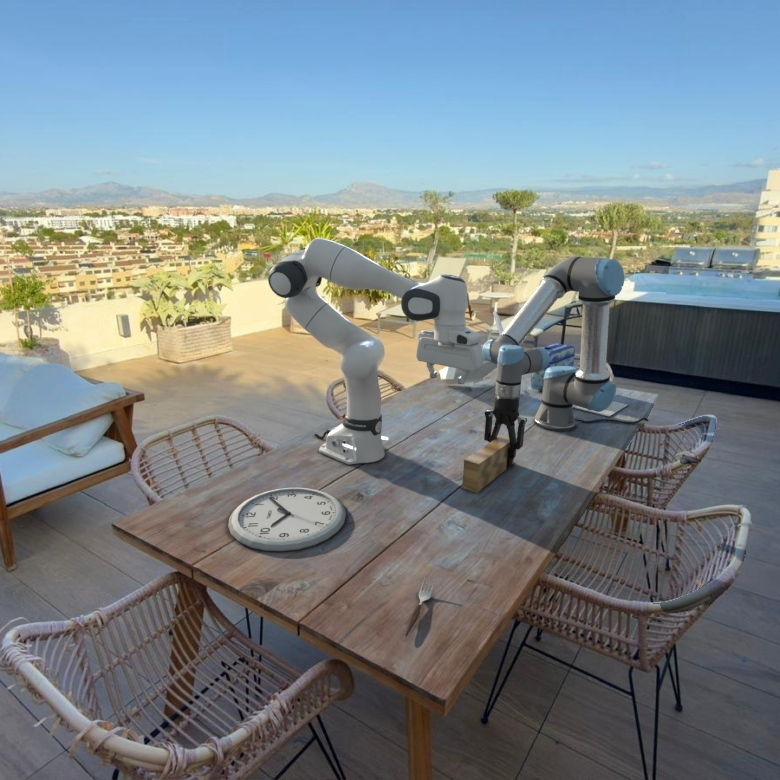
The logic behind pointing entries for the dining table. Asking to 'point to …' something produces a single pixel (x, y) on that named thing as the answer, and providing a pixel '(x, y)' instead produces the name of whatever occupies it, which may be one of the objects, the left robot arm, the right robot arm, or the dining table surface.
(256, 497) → the wall clock
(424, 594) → the fork
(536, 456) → the dining table surface
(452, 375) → the white plastic object
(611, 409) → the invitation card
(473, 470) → the bar
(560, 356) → the lunch box
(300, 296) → the left robot arm
